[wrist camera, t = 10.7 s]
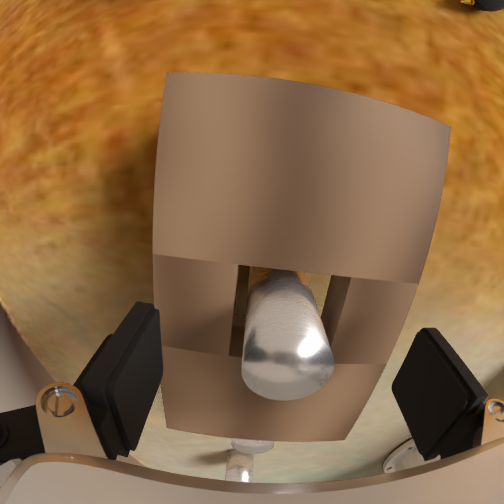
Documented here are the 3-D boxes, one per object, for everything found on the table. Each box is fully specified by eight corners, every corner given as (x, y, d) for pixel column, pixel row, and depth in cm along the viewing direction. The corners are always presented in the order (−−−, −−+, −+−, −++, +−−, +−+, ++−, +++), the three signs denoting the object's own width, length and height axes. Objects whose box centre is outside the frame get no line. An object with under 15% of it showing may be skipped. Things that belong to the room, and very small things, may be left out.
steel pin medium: (278, 383, 23) (282, 443, 17) (255, 399, 24) (253, 457, 18) (253, 366, 22) (251, 428, 16) (229, 383, 23) (222, 443, 17)
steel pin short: (258, 453, 27) (258, 485, 23) (241, 461, 28) (240, 491, 24) (239, 445, 27) (237, 477, 22) (222, 453, 27) (219, 483, 23)
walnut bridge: (378, 132, 16) (450, 126, 9) (324, 363, 22) (344, 439, 15) (205, 105, 16) (166, 72, 8) (190, 350, 22) (166, 427, 14)
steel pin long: (306, 252, 19) (352, 365, 9) (274, 283, 20) (286, 410, 9) (273, 222, 18) (290, 317, 8) (241, 254, 19) (222, 372, 9)
